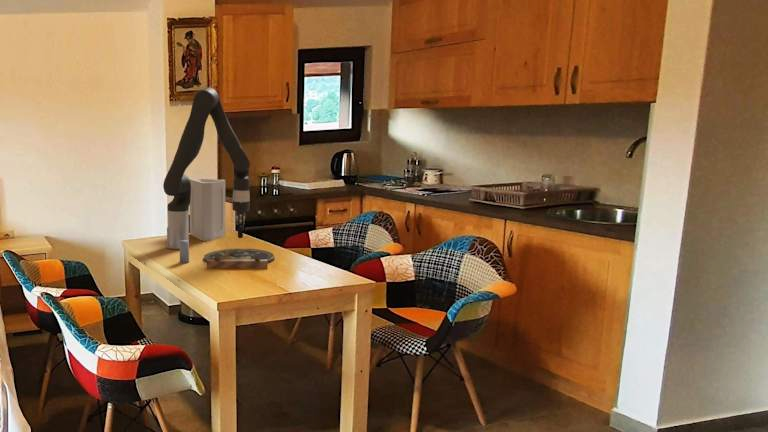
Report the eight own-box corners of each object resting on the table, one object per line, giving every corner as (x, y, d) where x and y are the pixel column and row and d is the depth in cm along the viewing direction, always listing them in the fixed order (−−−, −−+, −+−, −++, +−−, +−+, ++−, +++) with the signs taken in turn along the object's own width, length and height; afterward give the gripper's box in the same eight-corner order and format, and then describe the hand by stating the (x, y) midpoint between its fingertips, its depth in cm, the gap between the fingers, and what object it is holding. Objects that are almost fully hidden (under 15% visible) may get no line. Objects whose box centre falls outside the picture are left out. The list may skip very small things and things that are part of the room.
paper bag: (231, 238, 338) (232, 182, 334) (202, 240, 330) (202, 183, 325) (217, 232, 354) (217, 178, 349) (189, 234, 345) (188, 178, 341)
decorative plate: (236, 245, 314) (288, 254, 300) (236, 249, 314) (288, 258, 300) (188, 257, 288) (242, 266, 274) (188, 261, 289) (242, 271, 274)
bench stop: (206, 268, 275) (206, 253, 274) (207, 266, 278) (207, 252, 277) (267, 268, 279) (267, 253, 278) (267, 266, 282) (267, 252, 281)
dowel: (179, 263, 282) (179, 241, 281) (180, 261, 286) (180, 240, 284) (188, 263, 283) (188, 241, 281) (189, 261, 286) (189, 240, 285)
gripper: (232, 197, 312) (232, 234, 315) (232, 201, 299) (231, 240, 302) (249, 198, 314) (248, 235, 317) (249, 202, 301) (248, 240, 304)
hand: (240, 237), depth 309 cm, fingers closed
